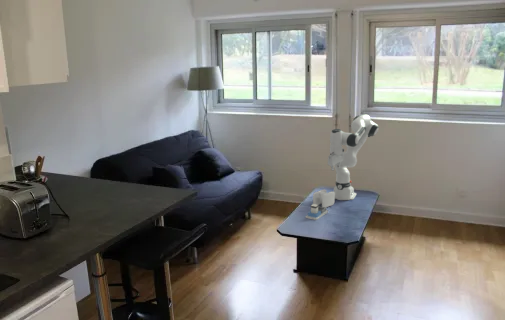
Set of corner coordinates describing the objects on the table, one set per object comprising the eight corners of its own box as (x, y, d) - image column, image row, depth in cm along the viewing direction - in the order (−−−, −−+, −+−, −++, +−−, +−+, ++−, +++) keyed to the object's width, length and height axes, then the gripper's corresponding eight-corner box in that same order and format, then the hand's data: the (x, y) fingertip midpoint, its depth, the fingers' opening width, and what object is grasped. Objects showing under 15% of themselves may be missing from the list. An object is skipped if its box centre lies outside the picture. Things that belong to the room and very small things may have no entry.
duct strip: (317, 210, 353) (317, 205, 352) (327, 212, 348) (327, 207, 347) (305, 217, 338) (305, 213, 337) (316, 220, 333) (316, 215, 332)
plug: (313, 213, 342) (313, 203, 340) (318, 214, 340) (318, 204, 338) (310, 215, 339) (310, 205, 337) (315, 216, 337) (315, 206, 334)
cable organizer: (322, 209, 353) (322, 195, 351) (312, 206, 361) (312, 192, 358) (334, 204, 363) (334, 191, 360) (324, 201, 371) (324, 188, 368)
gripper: (333, 154, 327) (333, 172, 331) (345, 148, 343) (344, 166, 347) (325, 153, 331) (325, 171, 334) (337, 147, 347) (337, 165, 350)
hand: (335, 168), depth 341 cm, fingers open, 8 cm apart
